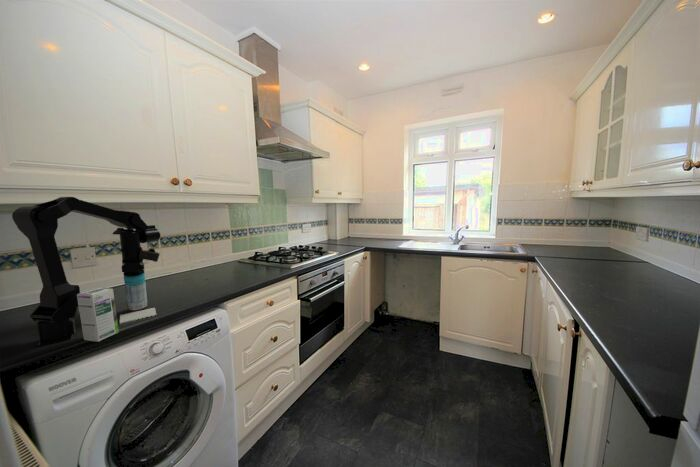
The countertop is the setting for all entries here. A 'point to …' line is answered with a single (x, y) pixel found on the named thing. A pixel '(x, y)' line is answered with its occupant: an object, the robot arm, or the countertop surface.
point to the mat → (137, 315)
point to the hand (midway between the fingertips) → (135, 284)
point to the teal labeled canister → (135, 290)
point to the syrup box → (98, 314)
